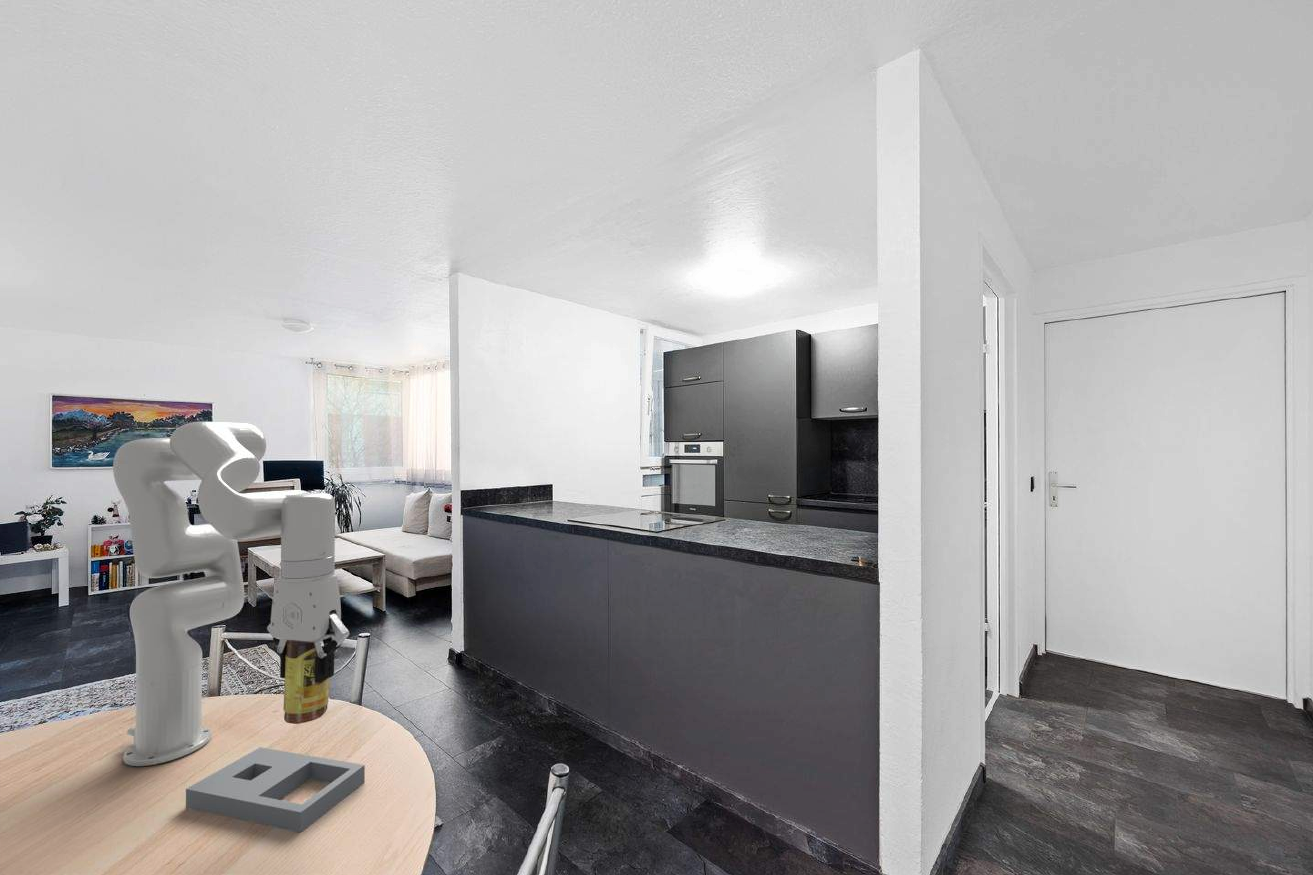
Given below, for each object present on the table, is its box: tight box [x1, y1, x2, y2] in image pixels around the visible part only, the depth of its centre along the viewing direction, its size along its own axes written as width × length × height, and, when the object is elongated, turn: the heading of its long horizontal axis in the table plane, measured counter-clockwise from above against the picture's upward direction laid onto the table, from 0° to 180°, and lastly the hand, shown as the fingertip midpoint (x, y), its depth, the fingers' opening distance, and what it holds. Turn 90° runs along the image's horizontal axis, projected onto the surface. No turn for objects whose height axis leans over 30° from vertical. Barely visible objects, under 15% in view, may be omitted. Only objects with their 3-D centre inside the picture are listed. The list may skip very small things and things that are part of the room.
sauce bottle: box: [283, 639, 330, 725], centre depth 89 cm, size 7×6×20 cm
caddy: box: [185, 746, 366, 833], centre depth 90 cm, size 23×12×3 cm, turn 76°
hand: (307, 675), depth 89 cm, fingers closed on sauce bottle, 6 cm apart
